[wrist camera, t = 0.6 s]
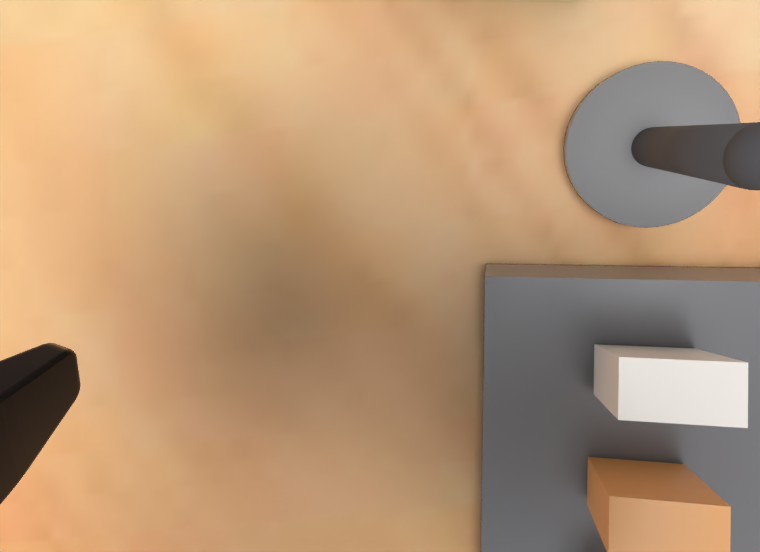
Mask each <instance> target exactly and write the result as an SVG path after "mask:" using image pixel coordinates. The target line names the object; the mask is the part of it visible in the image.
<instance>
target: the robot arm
mask: <svg viewBox="0 0 760 552" xmlns="http://www.w3.org/2000/svg"><path fill="white" fill-rule="evenodd" d="M79 390H80V378H79V371H78V364H77V357H76V354H75V353H74V351H73V350H71V349H68V348H66V347H63V346H60V345H57V344H54V343H47V344H43V345H40V346H38V347H35V348H32V349H30V350H27V351H25V352H22V353H20V354H17V355H14V356H12V357H9V358H7V359H4V360H1V361H0V504H1V503H2V502H3V500H4V499H5V498H6V497H7V496H8V495H9V493H10V492H11V491H12V490H13V488H14V487H15V486H16V485H17V483H18V482H19V481H20V480H21V478H22V477H23V475H24V474H25V473H26V471H27V470H28V468H29V467H30V466H31V464H32V463H33V461H34V460H35V458H36V457H37V455H38V454H39V452H40V451H41V450H42V448H43V447H44V445H45V444H46V442H47V441H48V439H49V438H50V436H51V435H52V433H53V432H54V431H55V429H56V428H57V426H58V425H59V423H60V422H61V420H62V419H63V417H64V416H65V414H66V413H67V411H68V410H69V409H70V407H71V406H72V404H73V403H74V401H75V400H76V398H77V396H78V393H79Z"/></svg>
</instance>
